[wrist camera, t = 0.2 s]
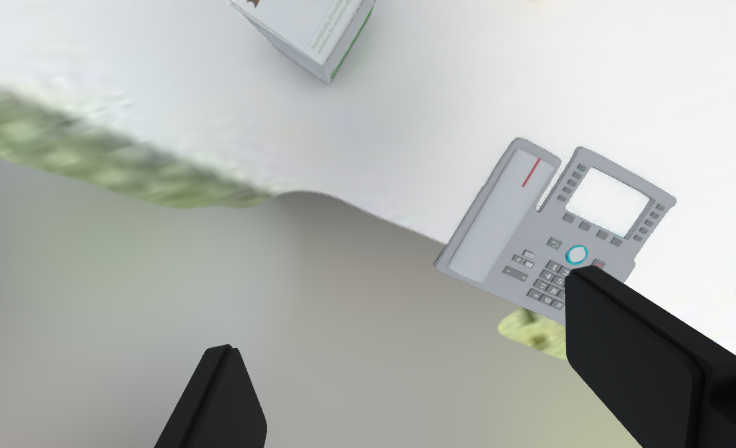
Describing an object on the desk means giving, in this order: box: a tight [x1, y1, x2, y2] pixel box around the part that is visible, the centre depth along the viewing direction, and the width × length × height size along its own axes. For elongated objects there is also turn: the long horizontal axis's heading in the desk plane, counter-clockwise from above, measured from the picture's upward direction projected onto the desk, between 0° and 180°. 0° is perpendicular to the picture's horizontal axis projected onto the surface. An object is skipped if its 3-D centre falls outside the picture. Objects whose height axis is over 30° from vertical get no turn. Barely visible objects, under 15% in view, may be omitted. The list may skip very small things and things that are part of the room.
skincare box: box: [230, 0, 376, 84], centre depth 28 cm, size 8×7×16 cm
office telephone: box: [433, 138, 677, 326], centre depth 43 cm, size 23×3×20 cm
